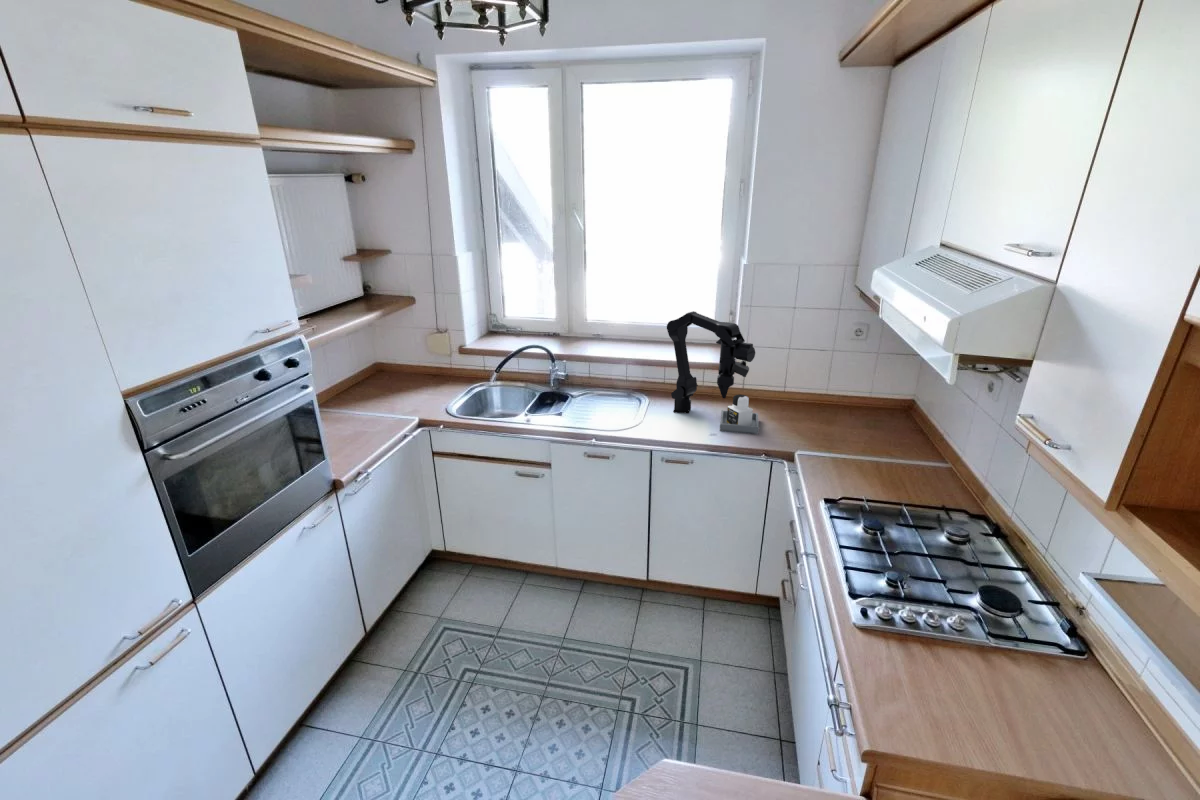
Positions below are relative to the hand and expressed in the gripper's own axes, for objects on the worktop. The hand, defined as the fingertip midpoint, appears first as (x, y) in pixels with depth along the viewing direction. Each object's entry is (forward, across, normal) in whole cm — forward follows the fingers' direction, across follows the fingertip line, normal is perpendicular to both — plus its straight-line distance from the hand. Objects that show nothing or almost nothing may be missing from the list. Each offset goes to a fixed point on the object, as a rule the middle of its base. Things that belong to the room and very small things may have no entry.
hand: (724, 394), depth 223 cm
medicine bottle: (+12, 0, -7) cm, 14 cm away
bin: (+13, 0, -7) cm, 14 cm away
